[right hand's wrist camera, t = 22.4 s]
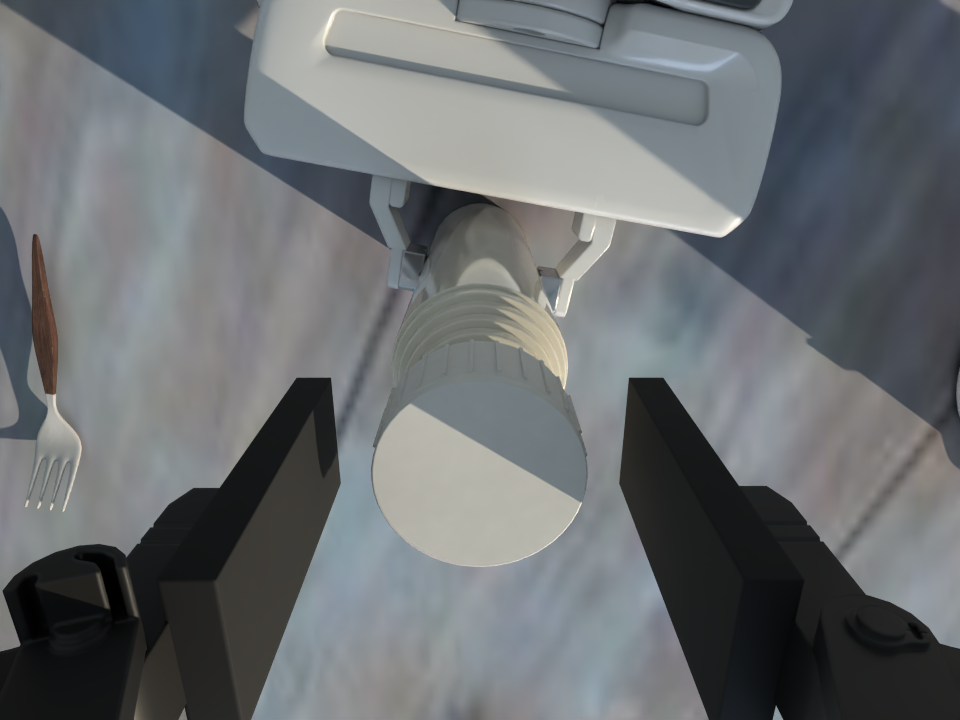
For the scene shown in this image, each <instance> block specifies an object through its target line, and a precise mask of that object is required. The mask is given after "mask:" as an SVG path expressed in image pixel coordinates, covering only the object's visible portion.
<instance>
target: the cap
mask: <svg viewBox="0 0 960 720" xmlns="http://www.w3.org/2000/svg"><path fill="white" fill-rule="evenodd" d="M581 433H582V431H581V428H580V425H579V422H578V419H577V416H576V413H575V410H574V406H573V403H572V400H571V397H570V395H569V396H567V394H566V392H565V391H564V389H563V386H562V383H561V380H560V377H559V376H557V377H556V376H555V375H554V374H553V373H552V372H551V371H550V370H549V368H548V367H547V366H545V364H544V361H543V360H542V359H541V360H540V361H539V360H538V359H537V358H535V357H534V356H532V355H530V354H528V353H527V352H525V351H523V348H521V347H519V349H518V348H516V347H513V346H509V345H507V344H503V343H499V341H496V340H495V342H490V341H474V339H471V340H470V342H462V343H457V344H453V345H449V344H446V345H445V347H443V348H441V349H439V350H437V351H434V352H432V353H430V354H429V355H427V354H425V355H423V358H422V359H421V360H420V361H418V362H417V363H416V364H415V365H414V366H413V367H411V368H410V369H409V370H408V369H406V370H405V372H404V375H403V377H402V379H401V380H400V382H399V383H398V385H397V386H396V388H394V387H393V388H392V391H391V394H390V397H389V400H388V403H387V406H386V408H385V410H384V413H383V416H382V419H381V422H380V426H379V429H378V432H377V435H376V438H375V441H374V444H373V447H375V451H374V454H373V460H372V467H371V472H372V485H373V491H374V495H375V498H376V501H377V504H378V506H379V508H380V510H381V512H382V514H383V516H384V517H385V519H386V520H387V522H388V523H389V525H390V526H391V527H392V528H393V529H394V531H395V532H396V533H397V534H398V535H399V536H400V537H401V538H402V539H404V540H405V541H406V542H407V543H408V544H410V545H411V546H413V547H414V548H416V549H417V550H419V551H421V552H423V553H424V554H426V555H428V556H430V557H433V558H436V559H438V560H441V561H444V562H448V563H452V564H456V565H463V566H475V567H485V566H496V565H502V564H508V563H511V562H514V561H518V560H521V559H523V558H526V557H528V556H531V555H533V554H535V553H536V552H538V551H540V550H542V549H543V548H545V547H546V546H548V545H549V544H550V543H552V542H553V541H554V540H555V539H556V538H557V537H559V536H560V535H561V534H562V533H563V532H564V531H565V529H566V528H567V527H568V526H569V524H570V523H571V522H572V520H573V519H574V517H575V515H576V514H577V512H578V510H579V508H580V505H581V503H582V501H583V497H584V494H585V490H586V484H587V461H586V456H587V452H586V449H585V446H584V443H583V440H582V436H581Z"/></svg>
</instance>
